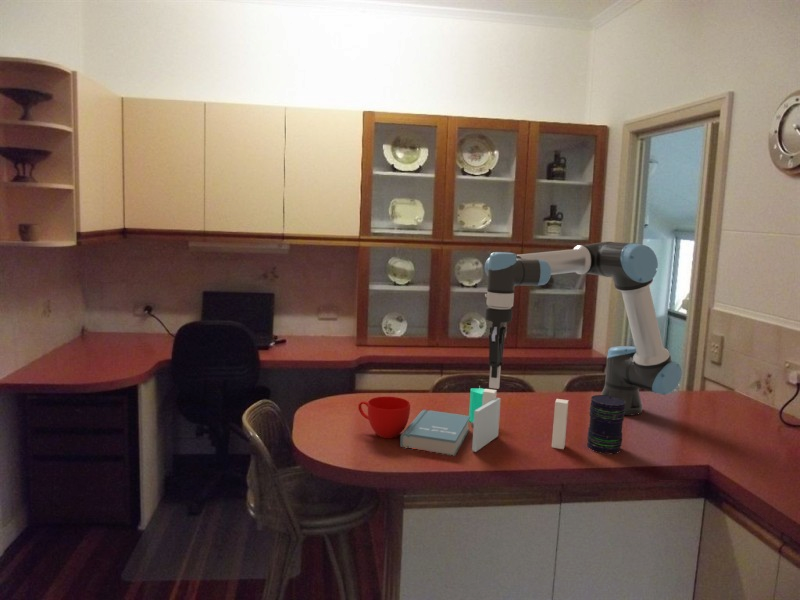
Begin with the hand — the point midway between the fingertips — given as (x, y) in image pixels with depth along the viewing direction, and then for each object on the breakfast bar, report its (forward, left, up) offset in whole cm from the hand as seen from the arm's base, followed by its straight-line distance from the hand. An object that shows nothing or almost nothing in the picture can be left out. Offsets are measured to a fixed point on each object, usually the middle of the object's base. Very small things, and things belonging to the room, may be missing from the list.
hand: (494, 387), depth 173 cm
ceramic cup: (+33, +3, -19) cm, 38 cm away
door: (+3, -3, -18) cm, 18 cm away
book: (+17, 0, -19) cm, 25 cm away
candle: (+9, -22, -19) cm, 30 cm away
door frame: (-8, -11, -18) cm, 23 cm away
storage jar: (-31, -16, -19) cm, 39 cm away
